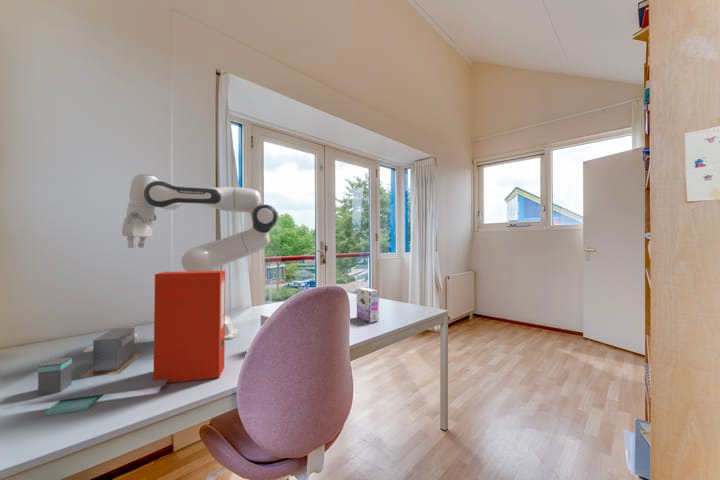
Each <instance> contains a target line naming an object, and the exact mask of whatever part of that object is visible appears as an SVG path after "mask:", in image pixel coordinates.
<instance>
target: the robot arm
mask: <svg viewBox="0 0 720 480" xmlns="http://www.w3.org/2000/svg"><path fill="white" fill-rule="evenodd" d="M128 196H129V202H127V203H128V204H127V209H126V217H125V218H124V221H123V223H122V227H121V233H122V236H125V237H127V238H126V239H127V248H129V249H135V248H136V243H135V240H136V237H138V238H139V243H138V244H137V247H138V248H139V249H140V248H145V246H146V245H145V244H146V241H147V238H151V237H152V236H153V234H154V229H155V222H156V221H157V215H156V214H155V210H156V208H161V209H164V210H166V211H167V210H169V211H171V210H176V209H178V208H180V207H181V206H182V204H196V205H197V204H198V205H199V204H201V205H204V206H209V207H211V208H213V209H217V210H219V211H225V212H234V213H236V212H237V213H238V212H242V213H248V214H249V215H250V216H251V219H252V227H251V228H249V229H247V230H244V231H241V232H238V233H236V234H232V235H229V236H226V237H223V238H221V239H217V240H214V241H210V242H207V243H205V244H201V245H198V246H195V247H193V248H190V249H188V250H186V251H185V252H184V254H183V255H182V257H181V262H180V263H181V266H182V268H183V269H184V270H185V271H217V270H216V269H217V268H219V267H221V266H225V265H227V264H230V263H232V262H234V261H238V260H241V259H242V258H245V257H247V256H250V255H253V254H255V253H258V252H260V251H262V250H264V249H265V248H267V247H268V246H269V245H270V243H271V238H270V234H269V232H270V231H271V229H272V228H274V226H276V224H277V222H278V217H279V216H278V215H279V214H278V212H277V210H276V208H275V207H273V206H272V205H271V204H270V205H269V204H265V203H264V204H263V202H262V196H261V194H260V192H259V190H257V189H253V188H247V187H240V186H239V187H238V186H221V187H207V188H205V187H203V188H202V187H186V186H177V185H172V184H170V183H167V182H165V181H162V180H159V178H157V177H156V176H155V175H151V174H139V175H135V176H134V177H133V178H132V180H131V182H130V188H129V194H128ZM238 335H239V329H238V328H237V327H234V324H233V321H232V319H231V318H230V317H229V316H227V315H226V314H225V341H226V340H232V339H234V338H236V337H237V336H238Z"/></svg>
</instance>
